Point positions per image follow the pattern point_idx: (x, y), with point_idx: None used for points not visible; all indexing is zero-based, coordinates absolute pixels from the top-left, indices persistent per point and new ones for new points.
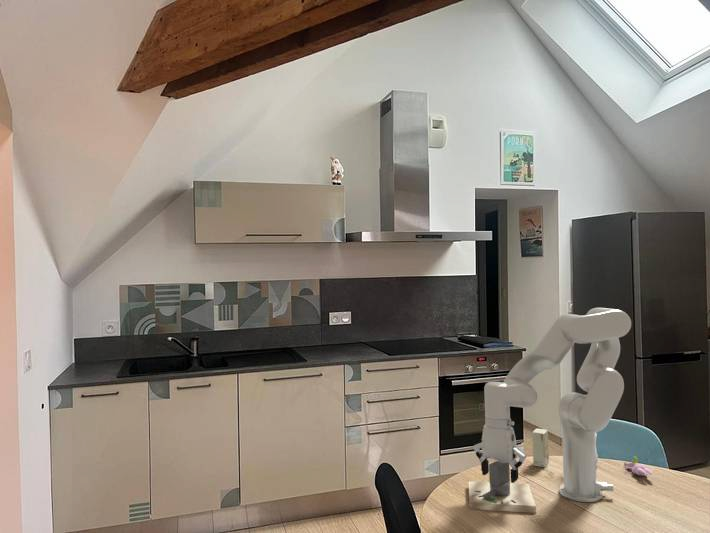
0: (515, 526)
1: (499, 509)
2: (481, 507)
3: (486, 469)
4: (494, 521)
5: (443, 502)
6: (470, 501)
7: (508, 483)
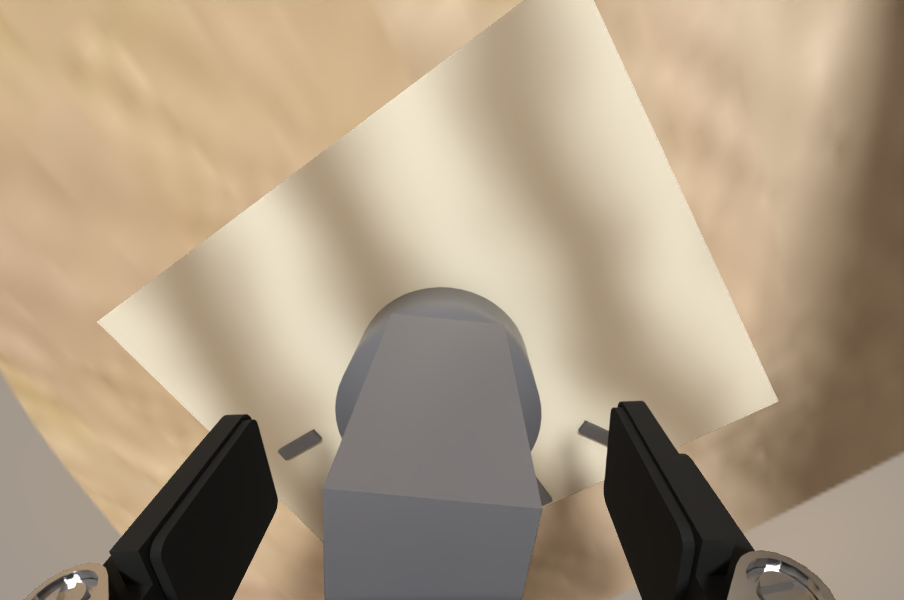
0: None
1: None
2: None
3: (242, 507)
4: (559, 579)
5: None
6: None
7: (525, 394)
